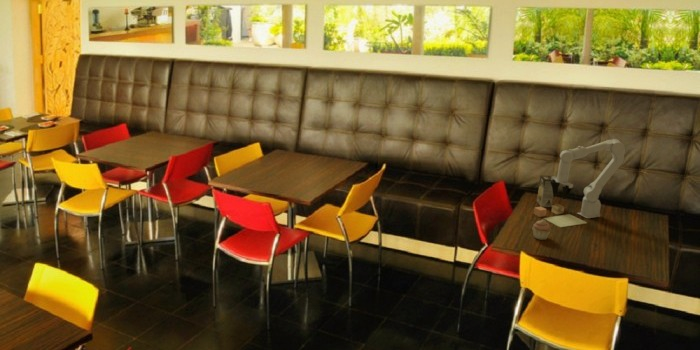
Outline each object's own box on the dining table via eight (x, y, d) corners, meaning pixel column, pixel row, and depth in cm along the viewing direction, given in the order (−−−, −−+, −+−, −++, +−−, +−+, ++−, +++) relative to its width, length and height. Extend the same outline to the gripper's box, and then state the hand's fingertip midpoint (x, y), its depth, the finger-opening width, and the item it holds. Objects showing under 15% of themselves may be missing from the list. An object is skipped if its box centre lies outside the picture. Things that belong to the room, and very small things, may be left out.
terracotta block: (540, 213, 328) (541, 206, 326) (545, 216, 324) (546, 209, 322) (533, 214, 326) (534, 207, 325) (539, 217, 322) (540, 210, 321)
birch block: (557, 210, 332) (558, 204, 331) (563, 213, 328) (564, 206, 327) (551, 211, 330) (552, 205, 329) (556, 214, 326) (557, 207, 325)
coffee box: (536, 201, 346) (539, 175, 341) (547, 201, 346) (551, 175, 341) (540, 207, 337) (544, 179, 332) (552, 207, 337) (556, 180, 332)
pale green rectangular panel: (569, 214, 326) (569, 214, 326) (587, 223, 315) (587, 222, 315) (543, 218, 319) (543, 217, 319) (560, 227, 308) (560, 226, 308)
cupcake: (533, 232, 301) (535, 213, 298) (552, 236, 296) (554, 217, 293) (528, 238, 293) (530, 219, 290) (547, 243, 289) (550, 223, 286)
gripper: (548, 169, 327) (544, 192, 331) (567, 177, 314) (563, 201, 318) (558, 168, 330) (554, 191, 334) (577, 176, 317) (573, 200, 321)
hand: (559, 196), depth 326 cm, fingers open, 7 cm apart
